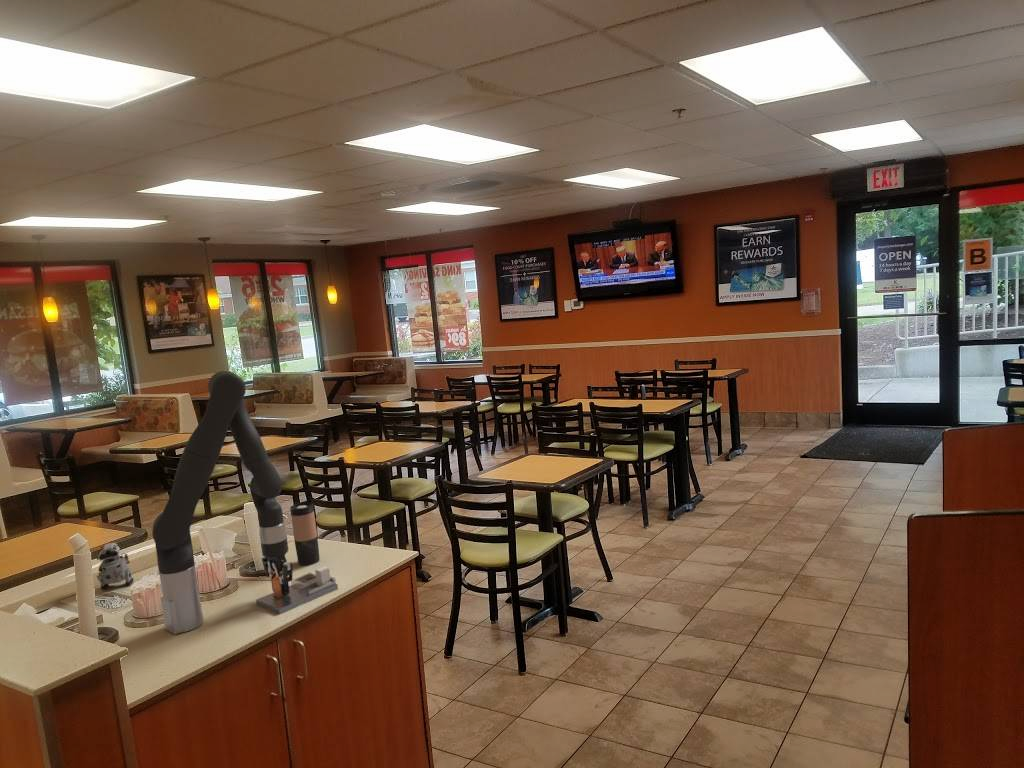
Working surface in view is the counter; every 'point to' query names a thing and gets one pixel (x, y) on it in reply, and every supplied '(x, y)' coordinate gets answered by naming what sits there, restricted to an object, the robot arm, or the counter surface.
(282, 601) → the panel
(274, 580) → the cap
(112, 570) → the figurine
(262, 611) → the counter surface
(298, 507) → the travel mug
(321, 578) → the block
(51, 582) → the counter surface
